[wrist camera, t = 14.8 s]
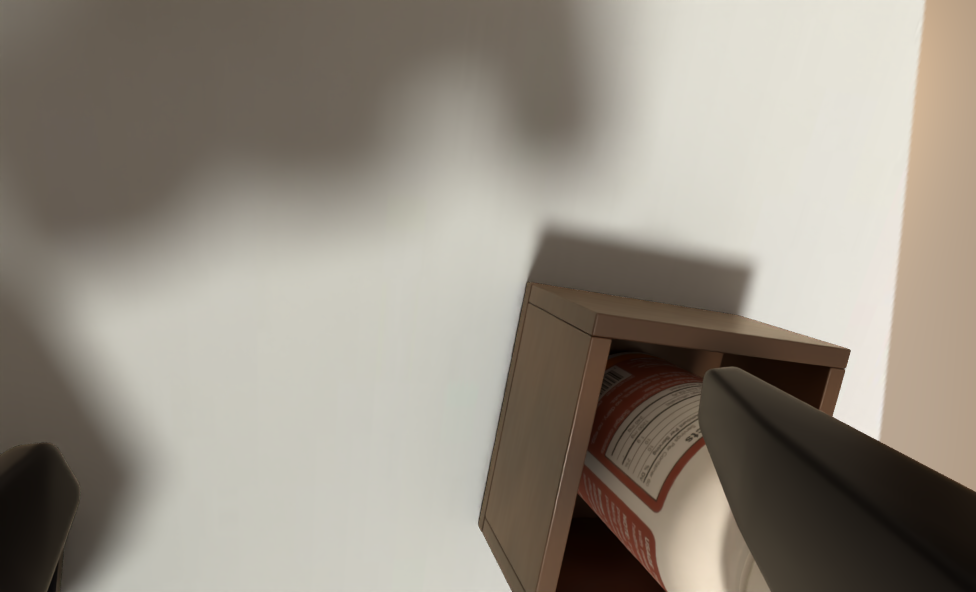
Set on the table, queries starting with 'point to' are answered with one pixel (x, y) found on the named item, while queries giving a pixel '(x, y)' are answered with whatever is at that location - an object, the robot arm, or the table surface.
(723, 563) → the pill bottle
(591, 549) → the brown rectangular open box
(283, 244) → the table surface
